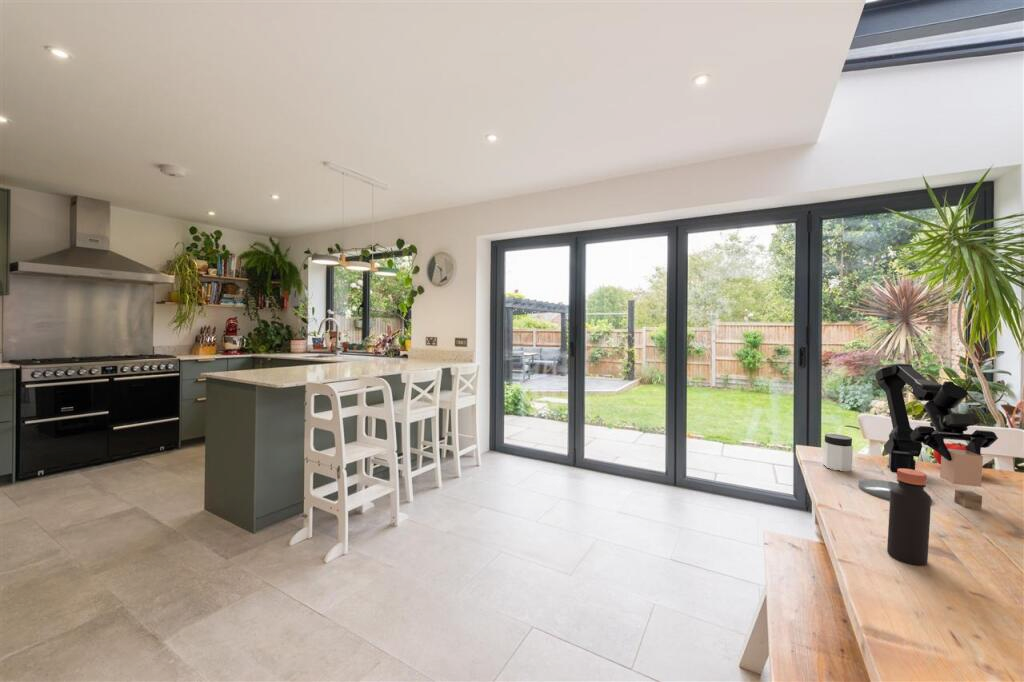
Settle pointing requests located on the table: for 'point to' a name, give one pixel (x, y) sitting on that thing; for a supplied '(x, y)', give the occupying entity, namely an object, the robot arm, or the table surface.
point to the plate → (877, 487)
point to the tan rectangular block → (962, 468)
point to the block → (968, 499)
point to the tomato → (949, 446)
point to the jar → (837, 452)
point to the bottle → (909, 518)
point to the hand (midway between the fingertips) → (964, 461)
